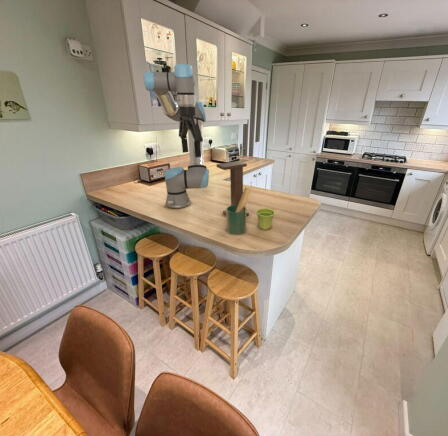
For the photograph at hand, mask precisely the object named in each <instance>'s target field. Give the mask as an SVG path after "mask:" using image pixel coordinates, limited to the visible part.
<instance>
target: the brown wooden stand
mask: <svg viewBox="0 0 448 436" xmlns="http://www.w3.org/2000/svg"><path fill="white" fill-rule="evenodd" d="M247 166H248V164H247V163H246V162H243V161H240V160H235V161H229V162H223V163H216V168H218V169H220V170H223V171H228V170H229V172H230V173H229V174H230V175H229V176H230V206H231V205H238V204H239V201H240V199H241V196H242V194H243V192H244V168H245V167H247ZM222 214H223V215H224V216H226V217H227V213H226V210H223V211H222ZM249 215H250V213H249V212H248V211H246V217H249Z"/></svg>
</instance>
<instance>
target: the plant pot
mask: <svg viewBox="0 0 448 436" xmlns="http://www.w3.org/2000/svg"><path fill="white" fill-rule="evenodd" d="M256 215H257V221H258V228H259V229H261V230H269V229H271V228H272V222H273V218H274V216H275V215H276V212H275V210H273V209H271V208H264V207H263V208H259V209H257V210H256Z"/></svg>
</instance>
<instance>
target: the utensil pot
mask: <svg viewBox="0 0 448 436" xmlns="http://www.w3.org/2000/svg"><path fill="white" fill-rule="evenodd" d="M237 206H238V205H231V204H230V205H228V206H227V207H226V213H227V216H226V231H227V233H229V234H231V235H242V234H244V233H245V232H246V231H247V216H246V212H247V208H246V206H245V207H244V209H243V211H241V212H235V211H236V209H237Z"/></svg>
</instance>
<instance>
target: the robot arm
mask: <svg viewBox="0 0 448 436" xmlns="http://www.w3.org/2000/svg"><path fill="white" fill-rule="evenodd" d="M173 69H174V71H172V72H171V71H169V72H167V71H166V72H165V71H163V72H162V71H161V72H160V71H145V72H143V84H144V88H145V89H146V91H148V92H154V95H155V96H156V98H157V99H158V102H159V103H160V105H161V110H162V112H163V113H164V115H165V116H166V117H167V118H168V119H171V120H172V121H175V122H178V123H179V125H178V126H179V127H178V137H179V138H180V139H181V149H182V150H181V151H182V153H189V164H188V165H187V169H185V168H184V167H183V166H175V167H171V168H168V169H166V170H165V172H164V180H165V187H166V193H167V194H166V199H165V206H166V208H168V209H172V210H180V209H184V208H187V207H189V206H190V205H191V199H190V197H189V194H188V192H187V190H193V189H194V190H195V189H206V188H208V186H209V182H210V181H209V180H210V169H209V168H207V165H205V159H204V147H203V146H204V144H203V141H204V139H203V126H204V125H205V123H206V122H207V118H206V112H205V107H204V104H203V102H202V101H196V94H195V86H196V81H195V78H194V71H193V66H192V64H189V63H188V64H187V63H179V64H178V63H177V64H174V67H173ZM173 92H176V96H177V97H176V100H177V101H176V100H175V99H174V96H173Z"/></svg>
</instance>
